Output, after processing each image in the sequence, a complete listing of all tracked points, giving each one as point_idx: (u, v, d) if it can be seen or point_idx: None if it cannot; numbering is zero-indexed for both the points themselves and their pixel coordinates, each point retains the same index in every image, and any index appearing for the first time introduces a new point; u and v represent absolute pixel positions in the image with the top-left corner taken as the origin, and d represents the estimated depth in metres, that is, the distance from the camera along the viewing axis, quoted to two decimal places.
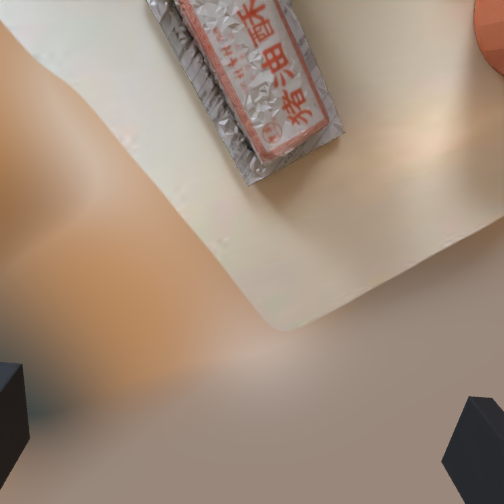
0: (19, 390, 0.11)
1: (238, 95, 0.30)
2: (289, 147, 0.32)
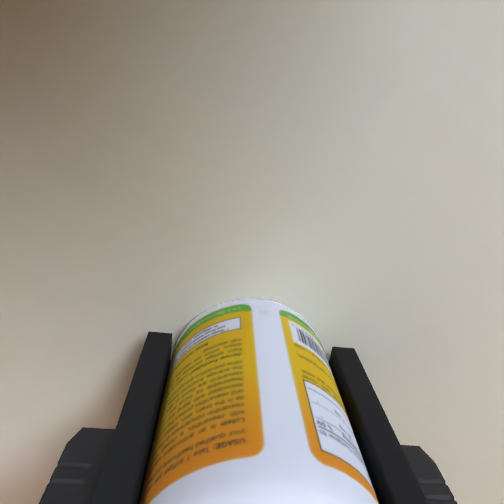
0: (169, 355, 0.13)
1: None
2: None
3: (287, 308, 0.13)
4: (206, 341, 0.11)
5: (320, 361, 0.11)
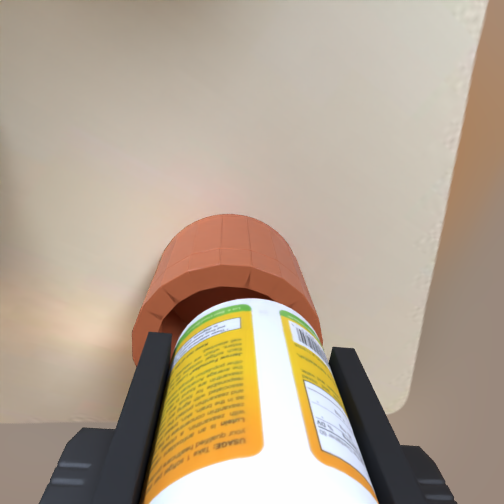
0: (169, 355, 0.13)
1: None
2: None
3: (288, 308, 0.13)
4: (206, 341, 0.11)
5: (320, 361, 0.11)
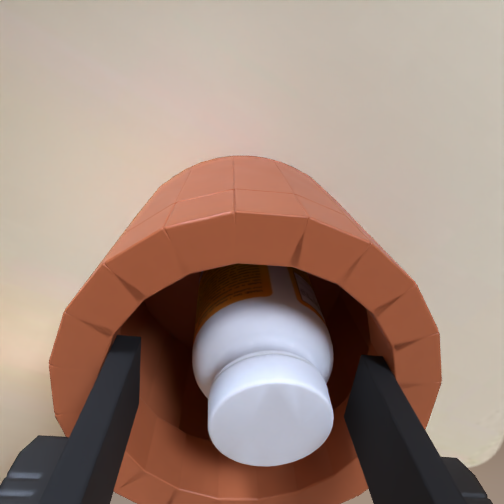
0: (139, 359, 0.12)
1: None
2: None
3: None
4: None
5: None
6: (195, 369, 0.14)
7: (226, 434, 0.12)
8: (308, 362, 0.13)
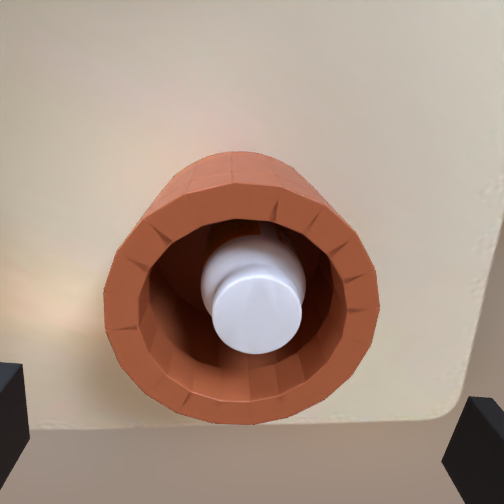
0: (19, 390, 0.11)
1: None
2: None
3: None
4: None
5: (286, 231, 0.23)
6: (203, 289, 0.19)
7: (225, 321, 0.17)
8: (284, 274, 0.18)
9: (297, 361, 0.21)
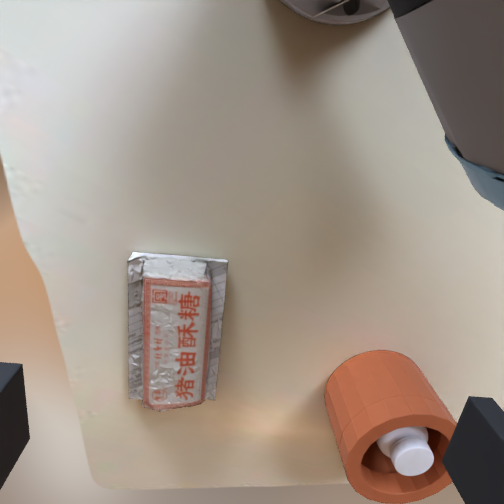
0: (19, 390, 0.11)
1: (150, 366, 0.40)
2: (166, 408, 0.42)
3: None
4: None
5: None
6: (380, 441, 0.41)
7: (400, 464, 0.39)
8: (424, 440, 0.40)
9: None
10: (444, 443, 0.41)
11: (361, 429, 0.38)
